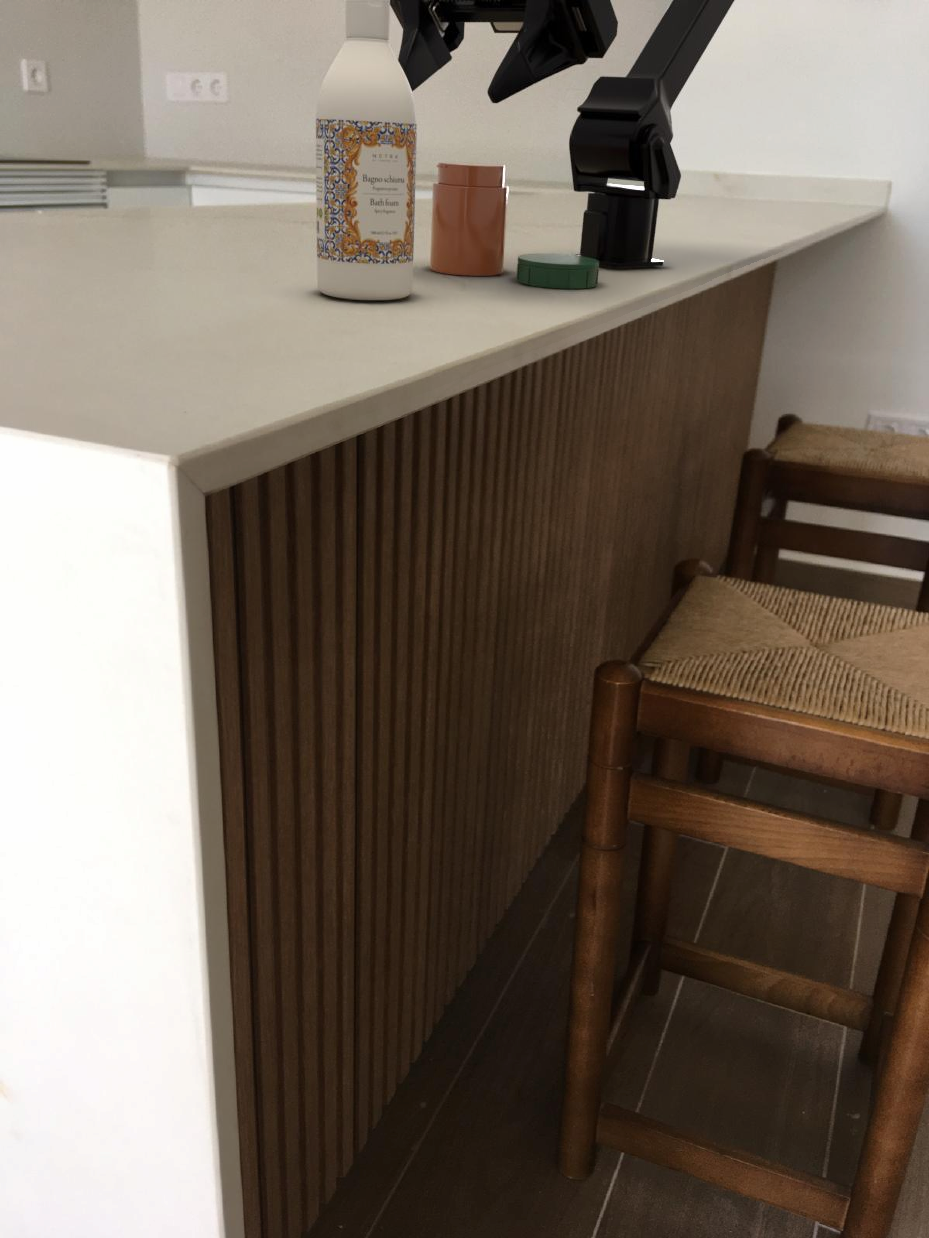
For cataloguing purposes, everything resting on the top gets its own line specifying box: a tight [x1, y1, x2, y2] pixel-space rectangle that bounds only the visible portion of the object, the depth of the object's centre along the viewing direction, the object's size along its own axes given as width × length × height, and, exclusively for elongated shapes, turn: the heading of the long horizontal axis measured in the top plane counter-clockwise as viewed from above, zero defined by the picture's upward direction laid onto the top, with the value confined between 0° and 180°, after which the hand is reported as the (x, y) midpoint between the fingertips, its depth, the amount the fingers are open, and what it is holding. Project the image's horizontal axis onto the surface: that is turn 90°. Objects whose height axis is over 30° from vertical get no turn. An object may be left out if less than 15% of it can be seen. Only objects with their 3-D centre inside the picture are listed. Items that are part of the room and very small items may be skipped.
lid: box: [515, 253, 600, 290], centre depth 89 cm, size 7×7×2 cm
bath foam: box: [315, 0, 418, 301], centre depth 75 cm, size 7×7×20 cm
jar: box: [429, 161, 509, 277], centre depth 92 cm, size 6×6×9 cm
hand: (442, 96), depth 78 cm, fingers open, 9 cm apart
